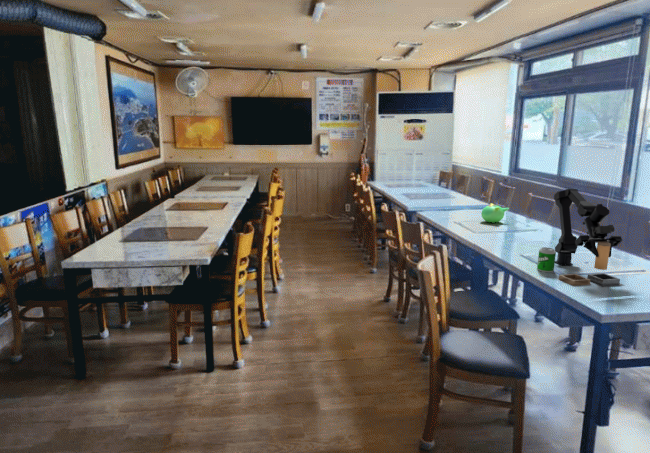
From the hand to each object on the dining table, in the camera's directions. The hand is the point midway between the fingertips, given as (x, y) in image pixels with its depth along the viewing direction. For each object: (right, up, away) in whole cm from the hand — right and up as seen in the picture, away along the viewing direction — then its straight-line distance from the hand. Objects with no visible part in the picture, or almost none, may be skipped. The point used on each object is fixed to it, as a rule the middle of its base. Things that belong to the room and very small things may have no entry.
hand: (603, 256), depth 201 cm
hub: (+2, -13, +4) cm, 14 cm away
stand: (-11, -13, +4) cm, 17 cm away
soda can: (-16, -9, +21) cm, 28 cm away
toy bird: (+5, +17, +146) cm, 147 cm away
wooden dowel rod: (0, -5, +3) cm, 6 cm away
